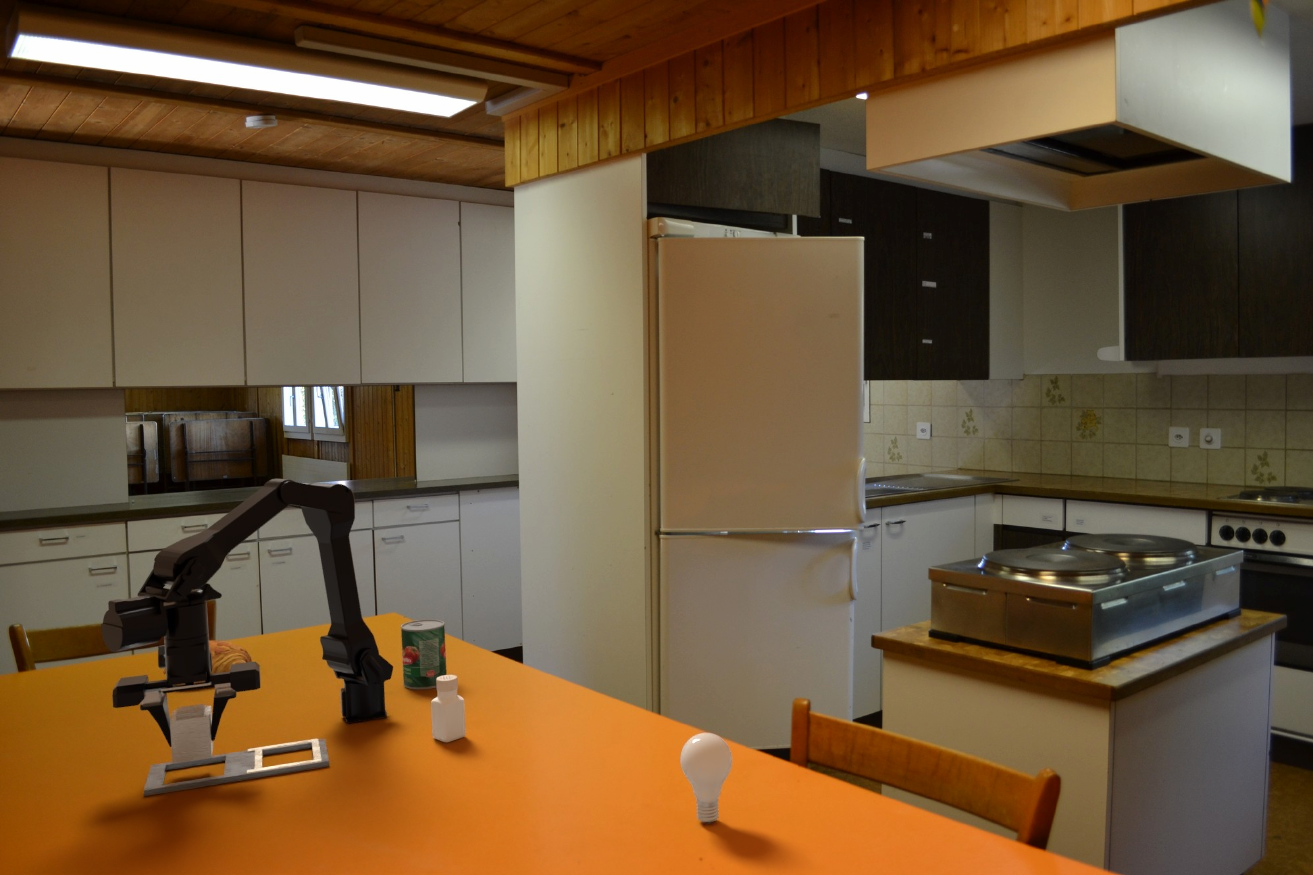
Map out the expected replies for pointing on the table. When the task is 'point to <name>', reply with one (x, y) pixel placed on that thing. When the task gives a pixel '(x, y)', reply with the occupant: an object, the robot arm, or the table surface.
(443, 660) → the canned tomato
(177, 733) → the grey upright rectangular block
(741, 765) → the table surface
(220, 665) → the croissant
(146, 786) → the rail
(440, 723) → the pepper shaker
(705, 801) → the lightbulb
